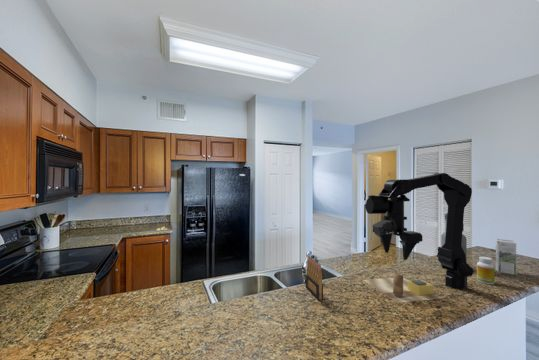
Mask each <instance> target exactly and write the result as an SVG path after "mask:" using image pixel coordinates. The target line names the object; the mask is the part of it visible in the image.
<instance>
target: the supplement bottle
mask: <svg viewBox="0 0 539 360" xmlns="http://www.w3.org/2000/svg"><path fill="white" fill-rule="evenodd" d="M495 270H496V267H495V264H493V258H491V257H487V256H478V262H477V263H476V280H477V282H479V283H482V284H484V285H494V284H495V272H496V271H495Z"/></svg>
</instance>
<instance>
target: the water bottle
mask: <svg viewBox="0 0 539 360" xmlns="http://www.w3.org/2000/svg"><path fill="white" fill-rule="evenodd" d="M447 213H448V212H447ZM447 213H445V214H444V221H445V222H444V223H445V225H444V227H445V228H444V233H442V234H441V237H440V241H441V242H440V244H441V245H440V247H442V246H443V245H444V244H445V238H446V225H447ZM464 228H465V227H464V223H463V231H462V243H461V246H462V249H463V250H464V252H465V254H466V263H467V247H468V246H467V245H468V244H467V240H468V239H467V237H466V235H464V234H463V232H464ZM467 264H468V263H467Z"/></svg>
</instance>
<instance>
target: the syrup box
mask: <svg viewBox="0 0 539 360" xmlns="http://www.w3.org/2000/svg"><path fill="white" fill-rule="evenodd" d="M495 270H496V271H497V272H498V273H499V274H505V275H511V276H517V243H516V242H515V241H514V240H510V239H501V238H496V239H495Z"/></svg>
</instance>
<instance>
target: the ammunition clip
mask: <svg viewBox="0 0 539 360" xmlns="http://www.w3.org/2000/svg"><path fill="white" fill-rule="evenodd" d="M306 266H307V267H306V274H305V289H307V291H308V292H309V293H311V295H312V296H313V297H314V298H315V299H316V300H317V301H323V300H324V284H323V274H322V270H323V269H322V264H321V263H319V262H318V261H317V260H315V259H314V258H313V257H311V256H310V255H308V258H307V265H306Z"/></svg>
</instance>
